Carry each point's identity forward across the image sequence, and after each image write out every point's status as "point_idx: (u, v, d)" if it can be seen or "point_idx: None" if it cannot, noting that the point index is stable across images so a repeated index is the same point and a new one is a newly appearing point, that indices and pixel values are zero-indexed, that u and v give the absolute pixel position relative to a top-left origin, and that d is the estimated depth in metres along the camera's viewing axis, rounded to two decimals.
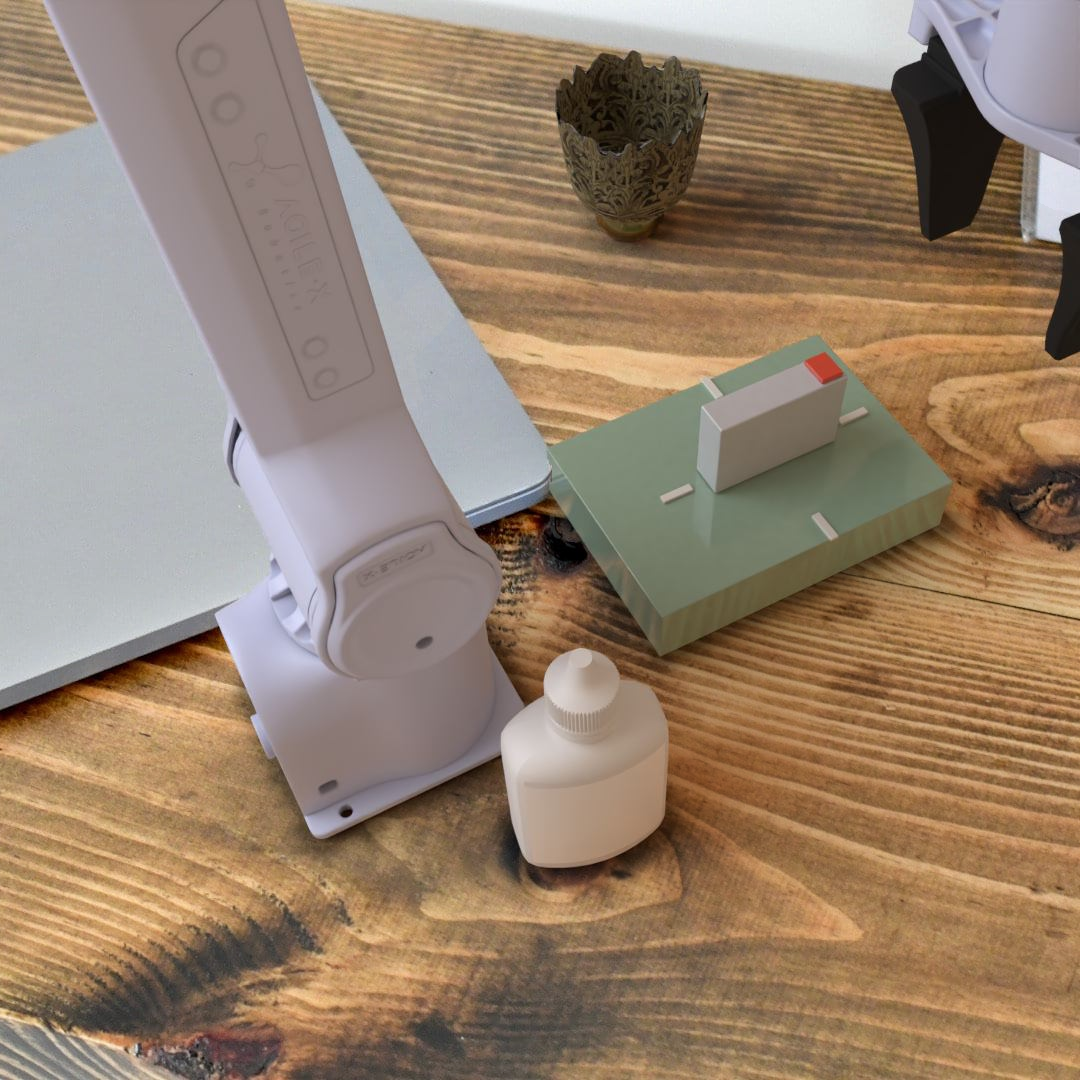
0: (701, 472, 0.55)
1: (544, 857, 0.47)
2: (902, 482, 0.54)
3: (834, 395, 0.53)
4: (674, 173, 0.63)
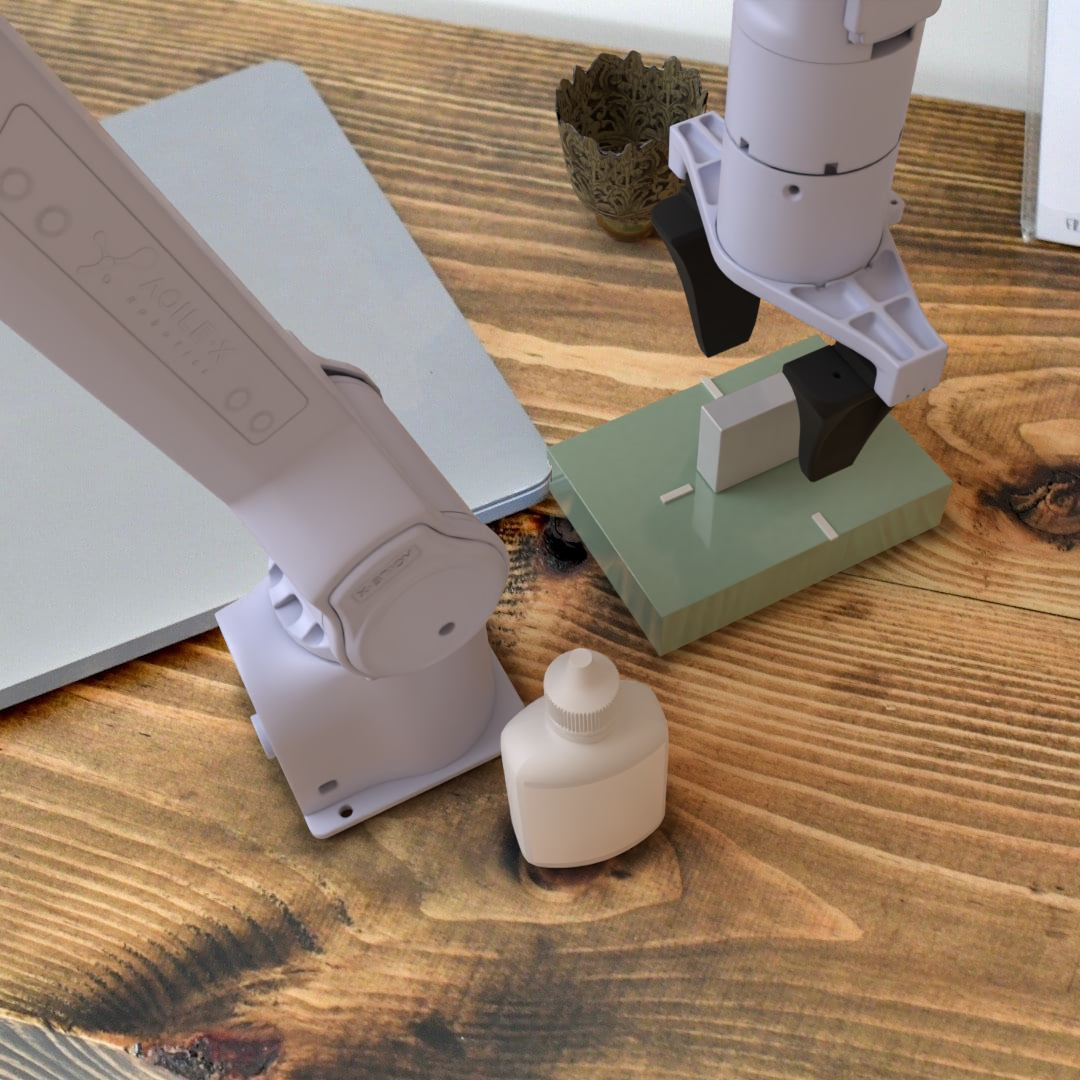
0: (701, 472, 0.55)
1: (544, 857, 0.47)
2: (902, 482, 0.54)
3: None
4: (674, 173, 0.63)
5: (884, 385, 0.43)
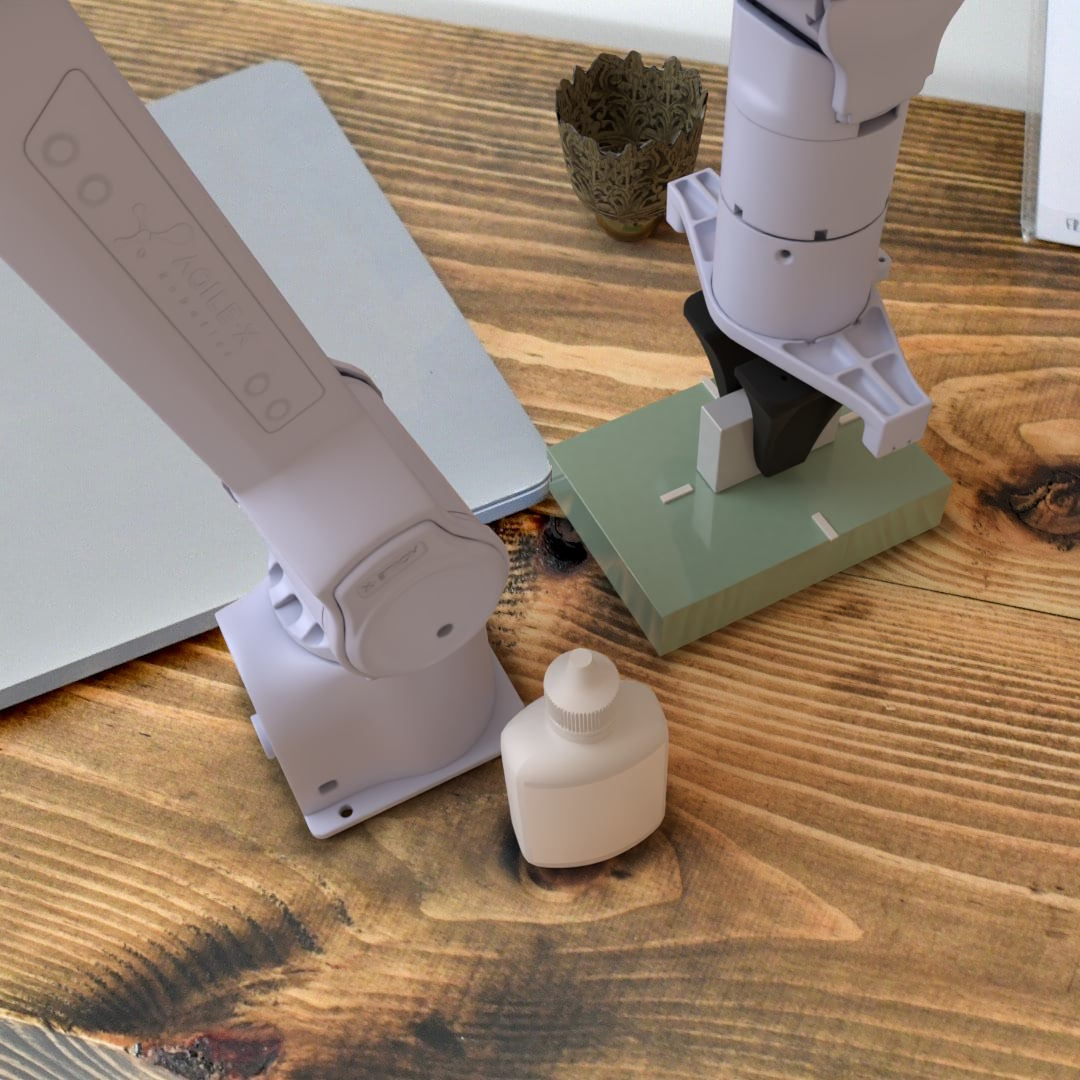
0: (701, 472, 0.55)
1: (544, 857, 0.47)
2: (902, 482, 0.54)
3: None
4: (674, 173, 0.63)
5: (871, 438, 0.45)
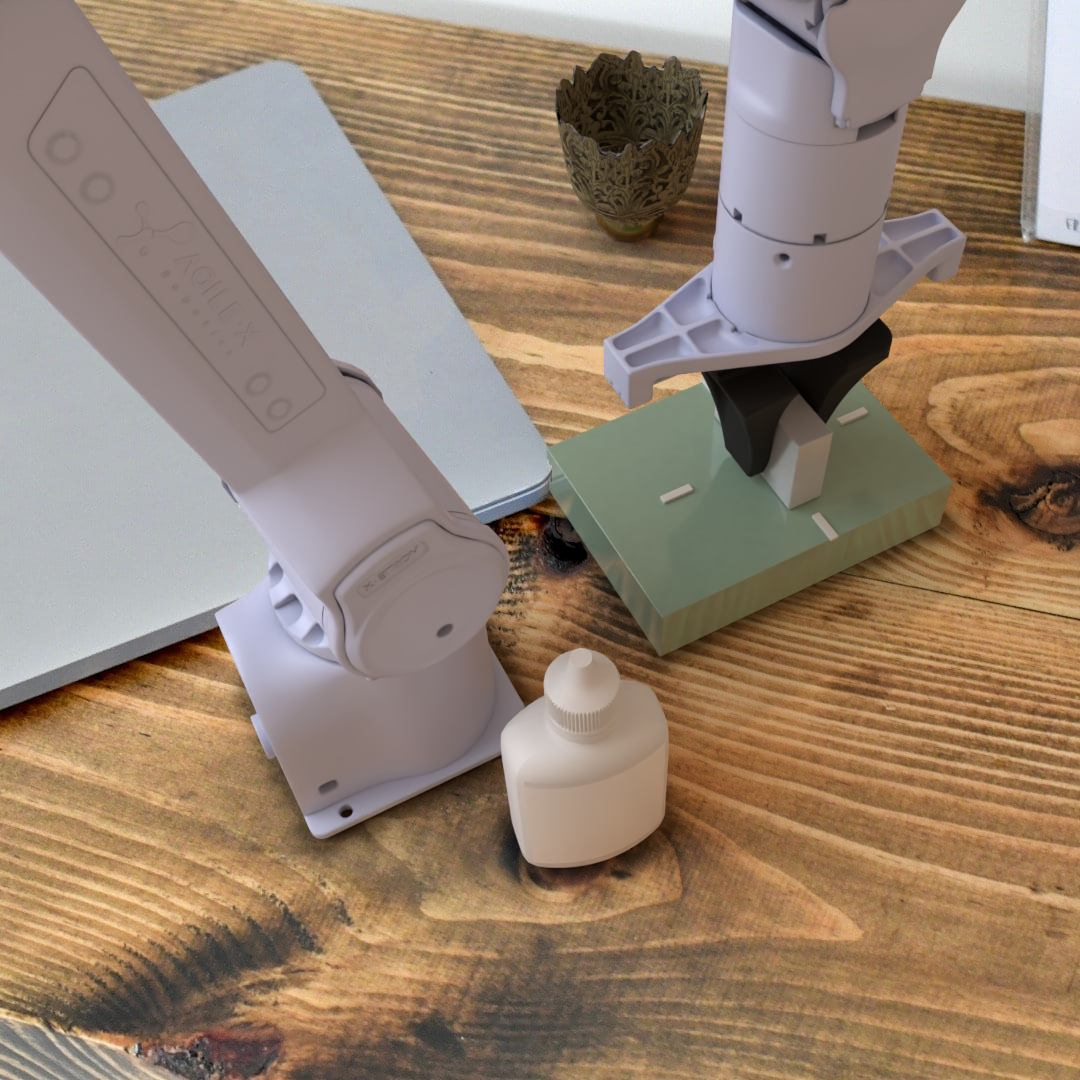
0: (798, 503, 0.54)
1: (544, 857, 0.47)
2: (902, 482, 0.54)
3: None
4: (674, 173, 0.63)
5: (951, 266, 0.50)
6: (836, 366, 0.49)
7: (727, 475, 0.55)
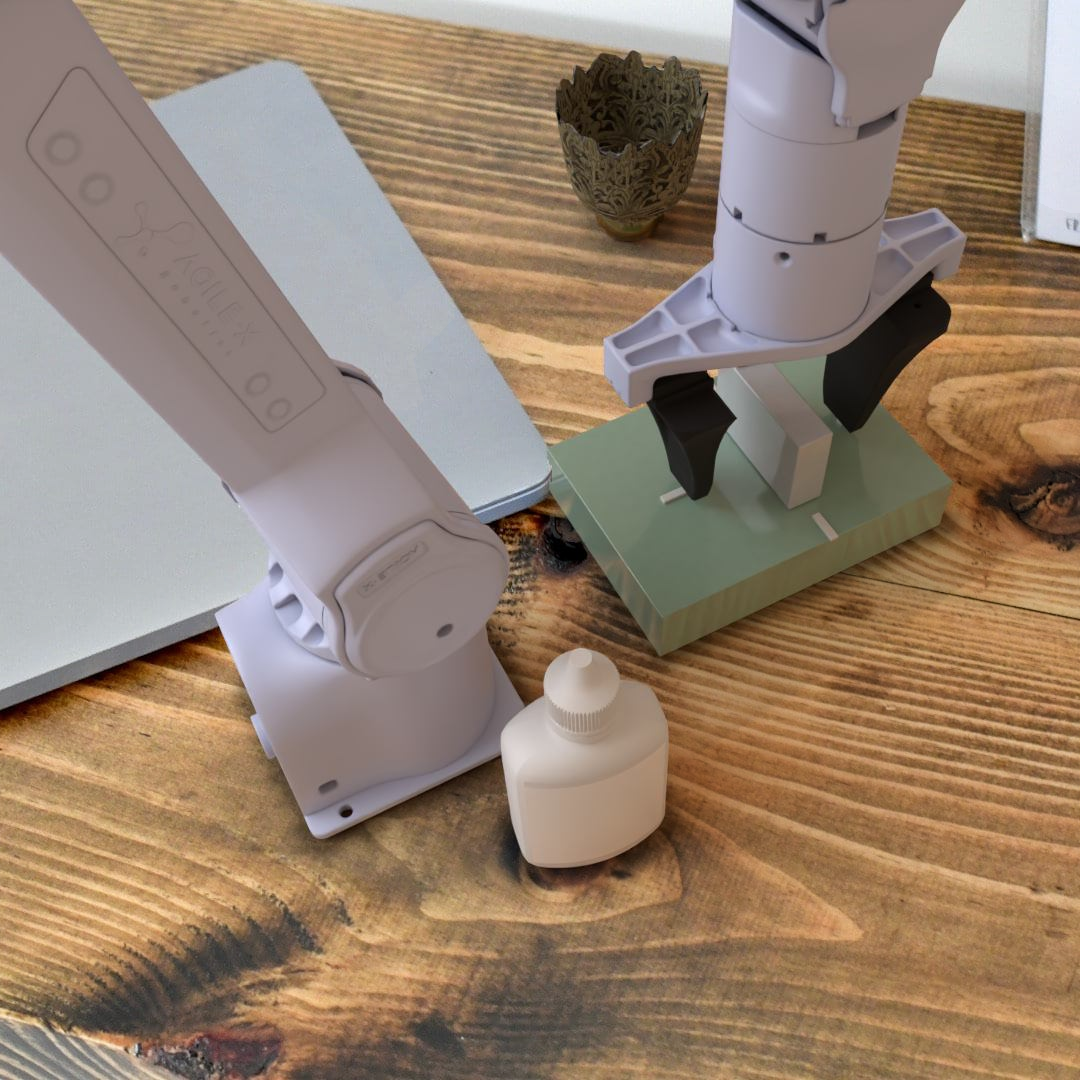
0: (798, 503, 0.54)
1: (544, 857, 0.47)
2: (902, 482, 0.54)
3: None
4: (674, 173, 0.63)
5: (951, 265, 0.50)
6: (896, 340, 0.50)
7: (727, 475, 0.55)
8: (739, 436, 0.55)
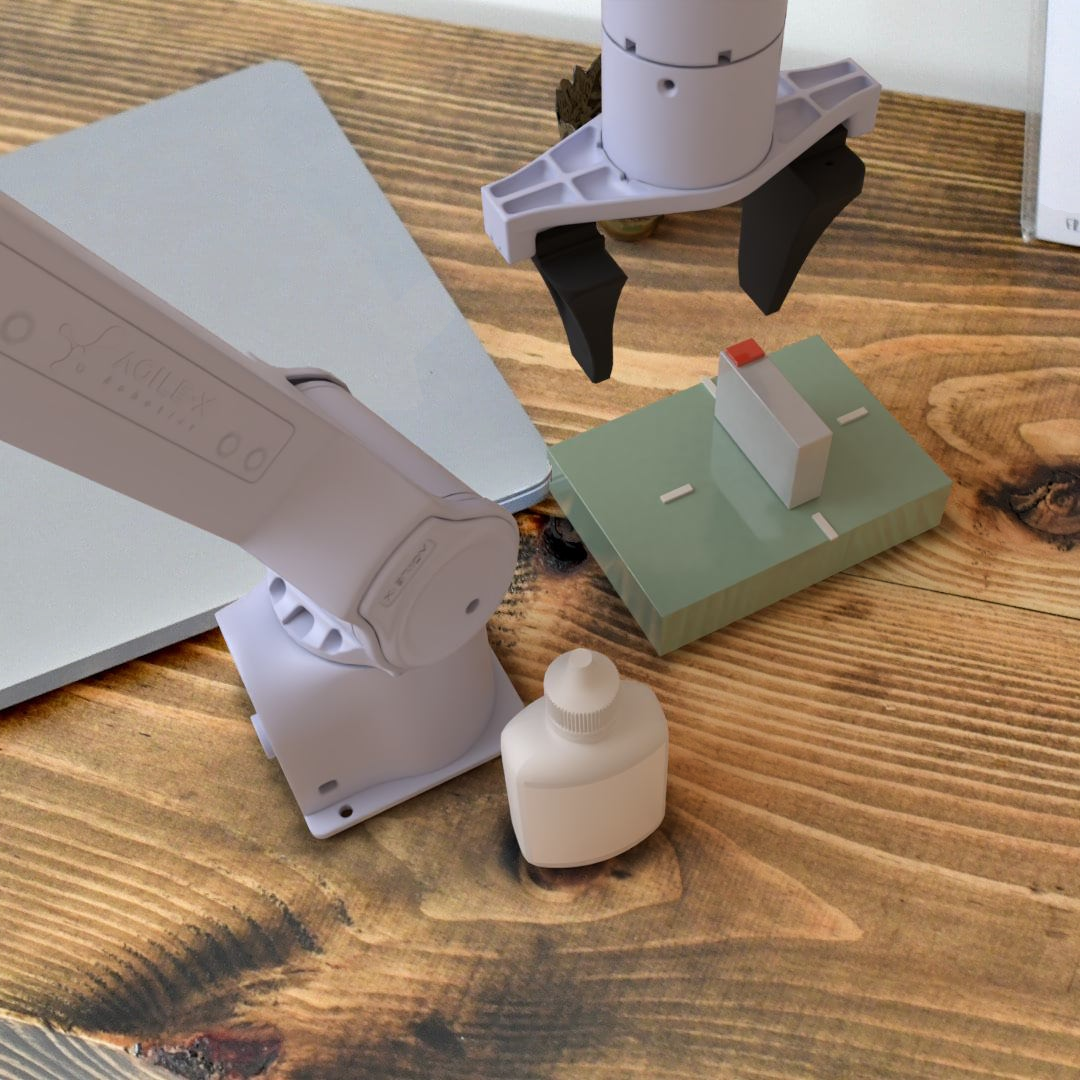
0: (798, 503, 0.54)
1: (544, 857, 0.47)
2: (902, 482, 0.54)
3: None
4: None
5: (866, 119, 0.46)
6: (805, 200, 0.46)
7: (727, 475, 0.55)
8: (739, 436, 0.55)
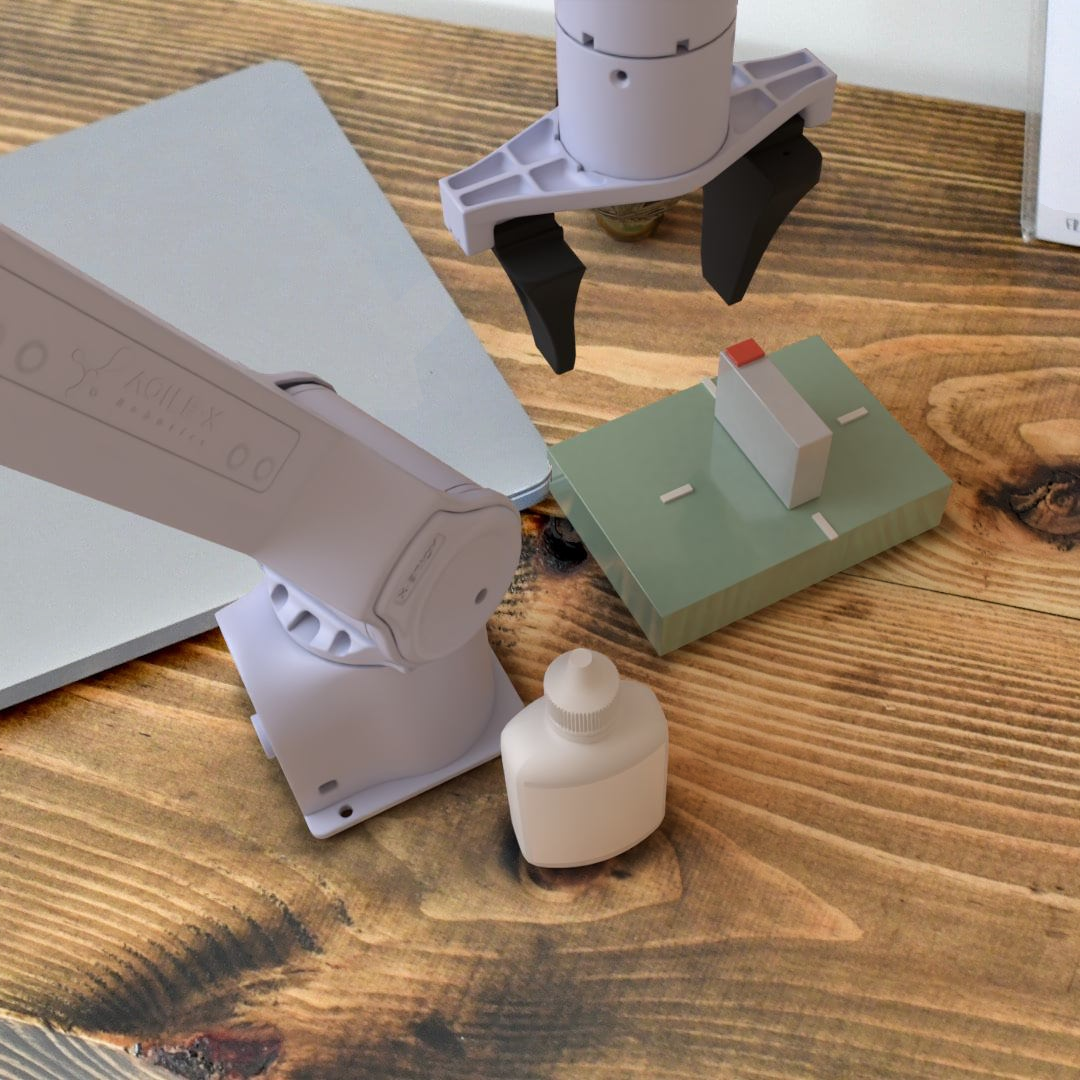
0: (798, 503, 0.54)
1: (544, 857, 0.47)
2: (902, 482, 0.54)
3: None
4: None
5: (822, 109, 0.46)
6: (763, 190, 0.46)
7: (727, 475, 0.55)
8: (739, 436, 0.55)
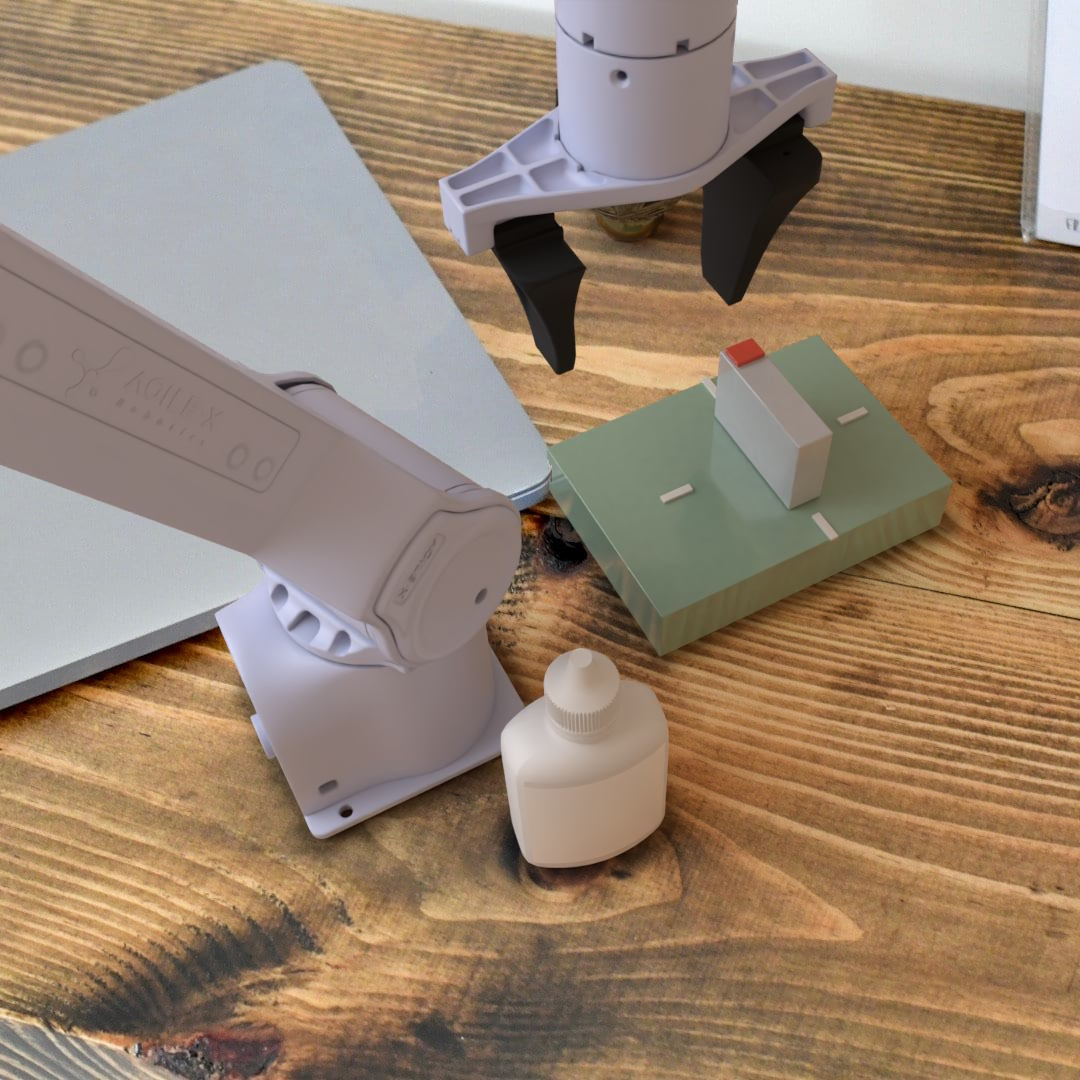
0: (798, 503, 0.54)
1: (544, 857, 0.47)
2: (902, 482, 0.54)
3: None
4: None
5: (822, 109, 0.46)
6: (763, 190, 0.46)
7: (727, 475, 0.55)
8: (739, 436, 0.55)
